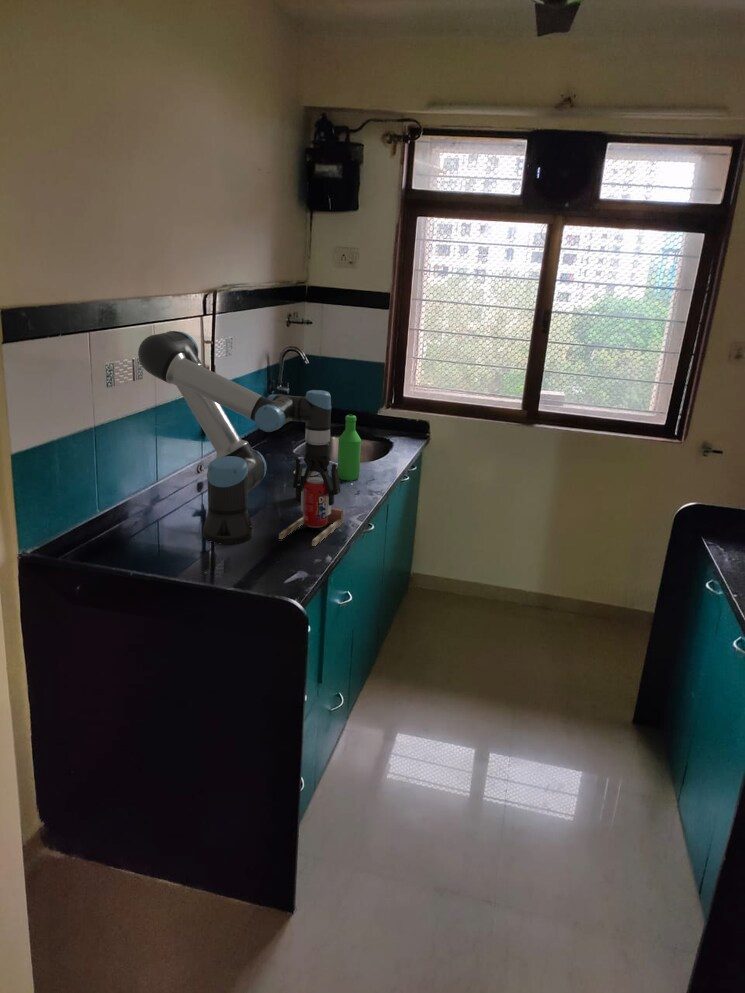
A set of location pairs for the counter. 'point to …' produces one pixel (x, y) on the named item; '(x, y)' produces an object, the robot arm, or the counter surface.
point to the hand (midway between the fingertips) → (315, 512)
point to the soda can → (314, 503)
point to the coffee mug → (313, 474)
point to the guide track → (334, 518)
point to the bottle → (349, 451)
